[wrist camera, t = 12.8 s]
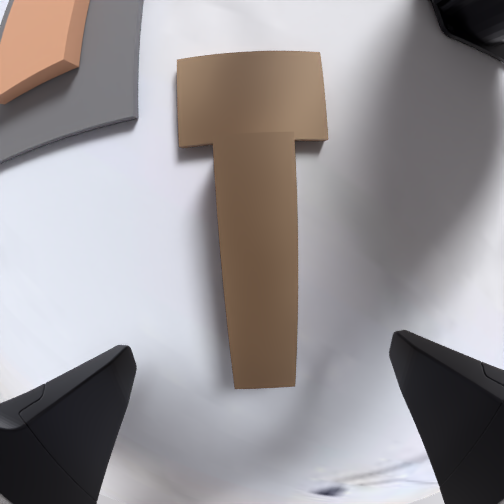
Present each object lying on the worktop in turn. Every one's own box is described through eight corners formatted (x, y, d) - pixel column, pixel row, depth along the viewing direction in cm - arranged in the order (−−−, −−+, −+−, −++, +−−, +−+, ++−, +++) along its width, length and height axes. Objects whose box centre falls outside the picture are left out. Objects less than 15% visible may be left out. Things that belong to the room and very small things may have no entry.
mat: (155, -66, 7) (152, -71, 6) (138, 118, 11) (133, 115, 10) (13, 2, 7) (9, 0, 7) (-13, 170, 11) (-19, 170, 11)
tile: (80, 67, 9) (103, -44, 7) (63, 59, 8) (93, -55, 5) (6, 104, 10) (31, -5, 7) (-11, 102, 8) (18, -12, 6)
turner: (316, 58, 10) (332, 30, 7) (320, 345, 14) (333, 382, 11) (181, 65, 10) (161, 39, 7) (206, 350, 14) (196, 388, 11)
